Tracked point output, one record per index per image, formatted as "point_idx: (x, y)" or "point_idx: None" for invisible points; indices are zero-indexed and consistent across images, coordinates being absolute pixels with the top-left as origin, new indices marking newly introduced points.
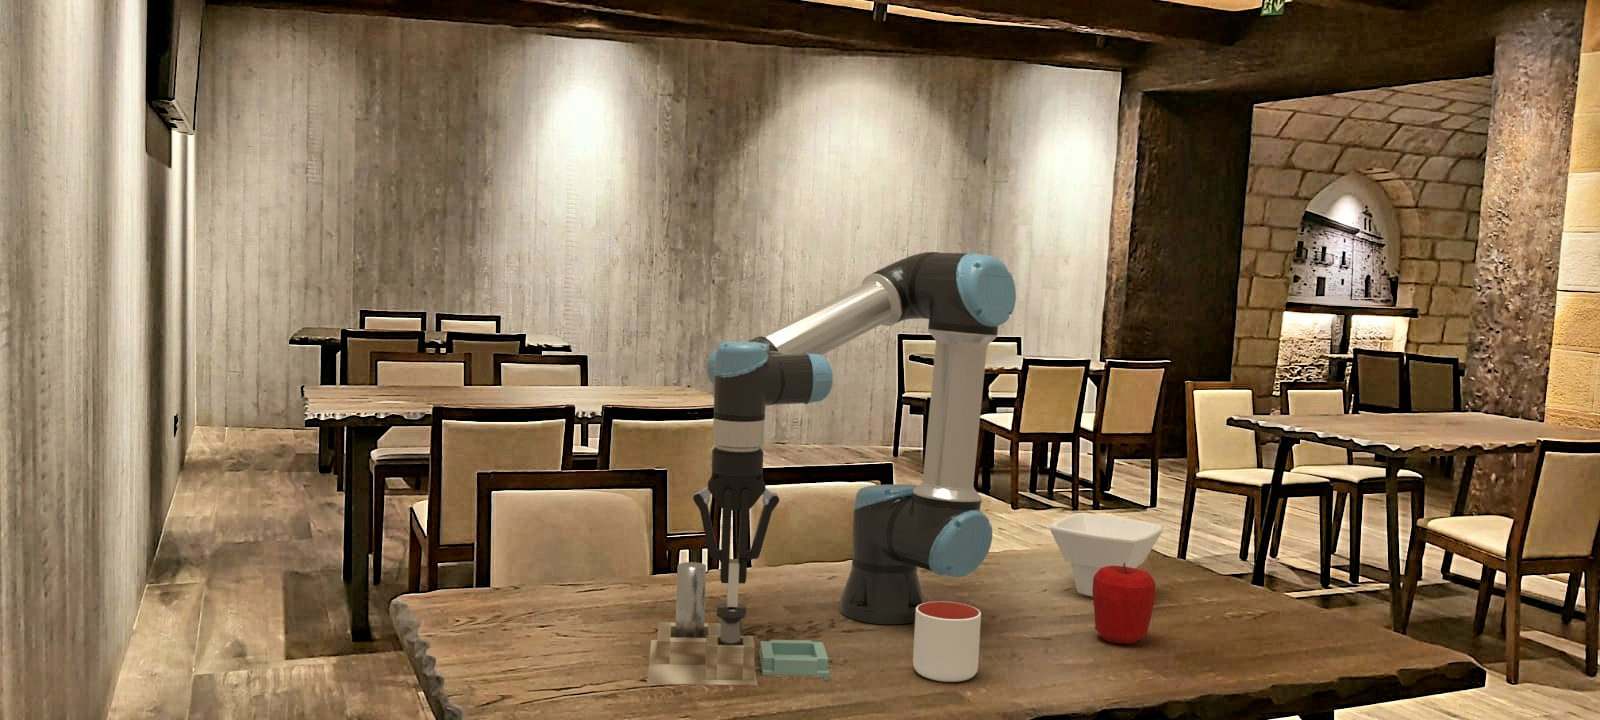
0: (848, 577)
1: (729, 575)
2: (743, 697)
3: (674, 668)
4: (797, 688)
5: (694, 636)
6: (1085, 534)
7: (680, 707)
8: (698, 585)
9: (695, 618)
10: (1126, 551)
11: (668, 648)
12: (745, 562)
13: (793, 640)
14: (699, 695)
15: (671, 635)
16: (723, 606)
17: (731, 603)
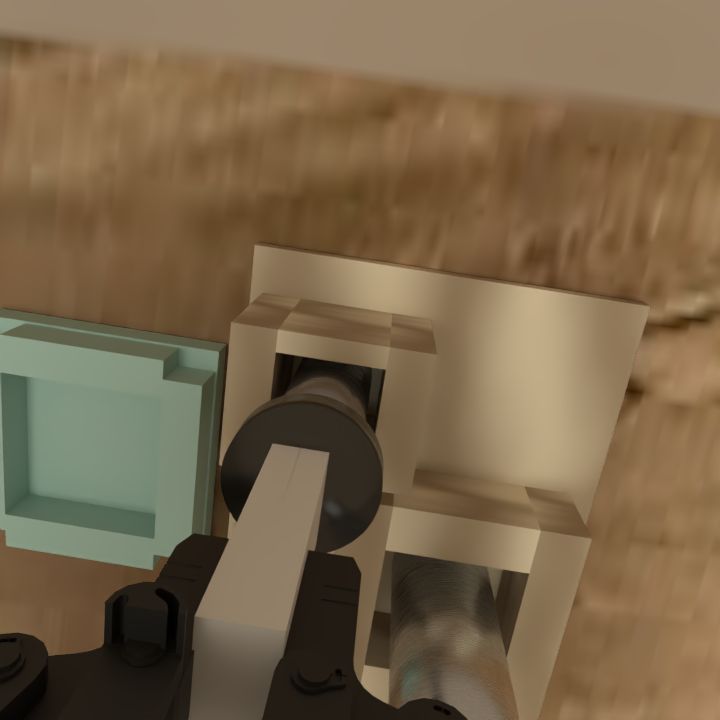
0: None
1: (296, 563)
2: (318, 177)
3: (517, 441)
4: (117, 246)
5: (434, 575)
6: None
7: (566, 97)
8: None
9: (436, 625)
10: None
11: (541, 516)
12: (132, 592)
13: (71, 552)
14: (471, 216)
15: None
16: (343, 500)
17: (305, 458)
